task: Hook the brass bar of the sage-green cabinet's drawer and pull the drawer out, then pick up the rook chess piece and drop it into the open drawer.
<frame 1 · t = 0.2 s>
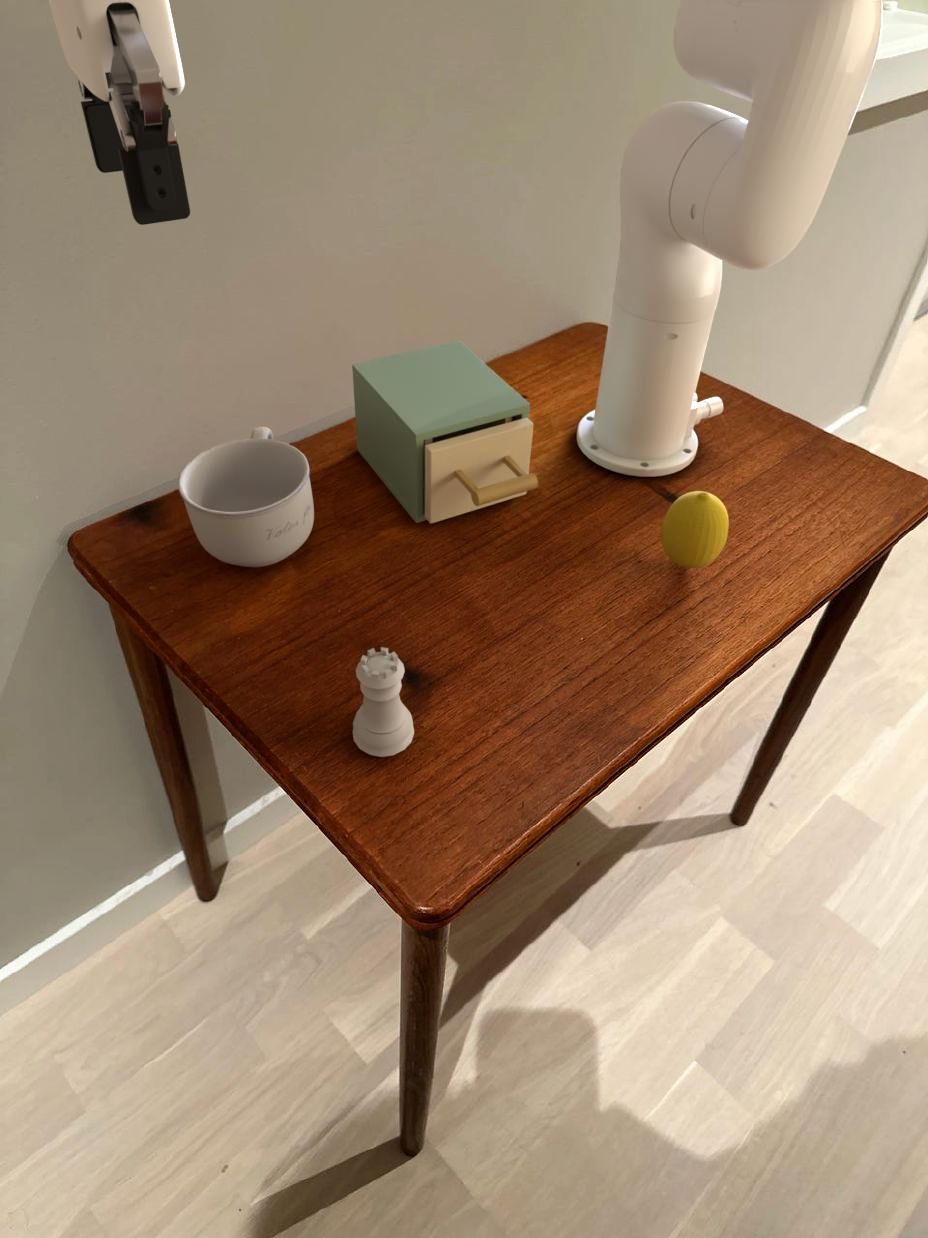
hand: (142, 192, 54), 31 cm above the table, tool pointing down, fingers open, 9 cm apart
rook chess piece: (383, 737, 63), on the table
cabinet: (437, 469, 87), on the table
teacup: (263, 535, 79), on the table
lemon: (684, 567, 78), on the table
drawer: (461, 452, 81), point 5 cm above the table, slide at 0.5 cm
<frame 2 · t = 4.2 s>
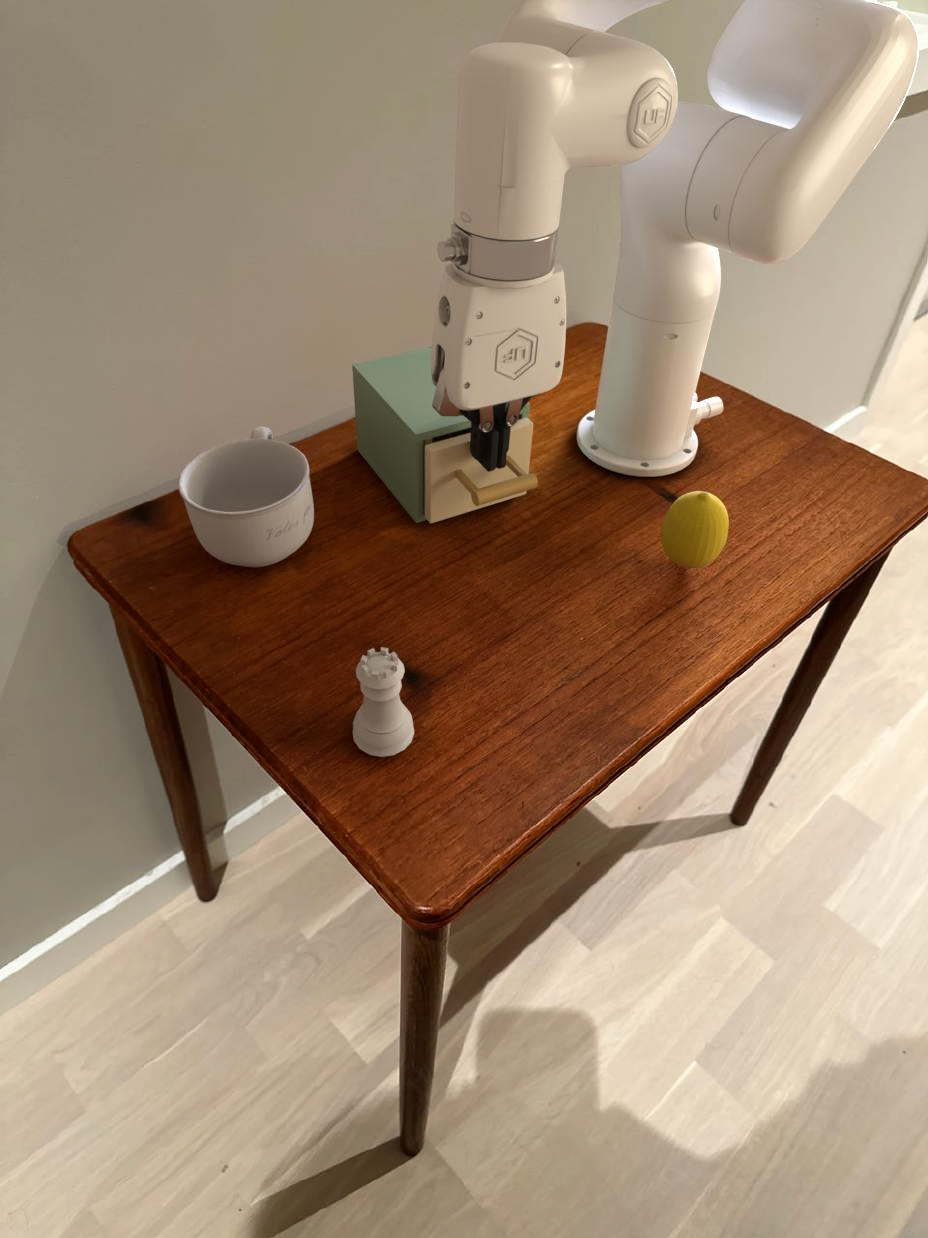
hand: (488, 461, 76), 7 cm above the table, tool pointing down, fingers closed
nothing on the table moved.
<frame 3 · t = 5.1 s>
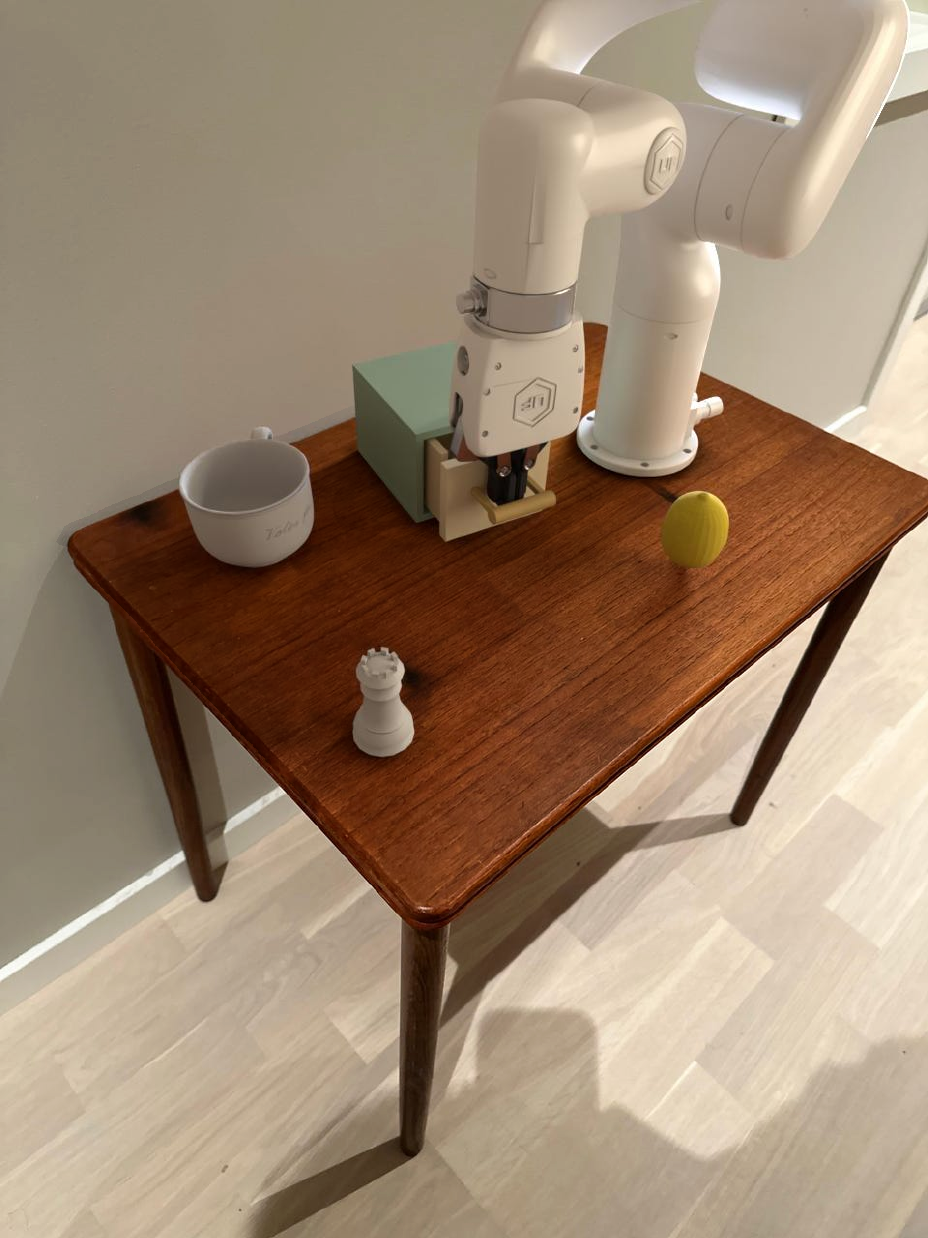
hand: (505, 502, 76), 5 cm above the table, tool pointing down, fingers closed
drawer: (476, 468, 79), point 5 cm above the table, slide at 3.4 cm, touching gripper
everything else where it was.
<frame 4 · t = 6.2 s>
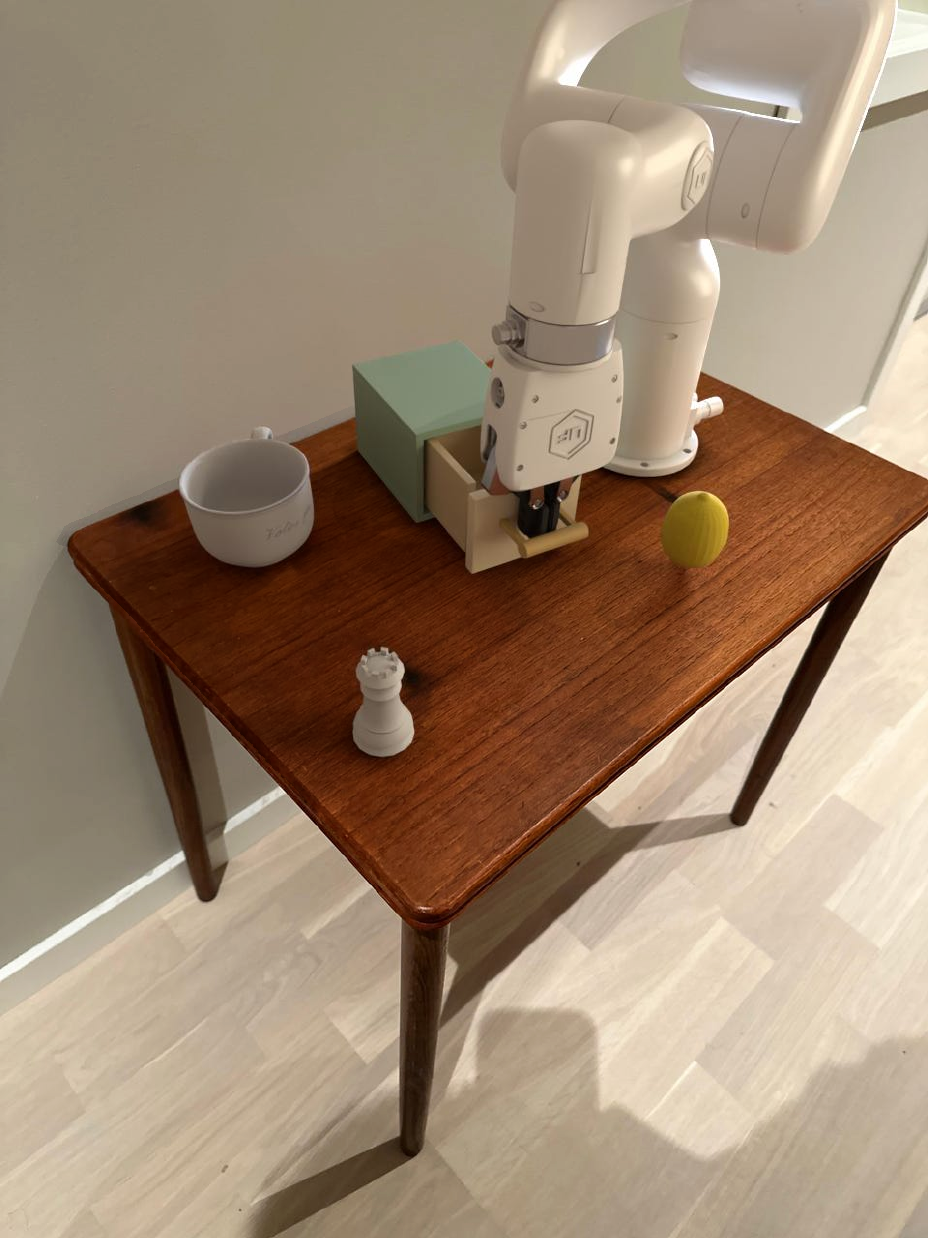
hand: (536, 534, 73), 5 cm above the table, tool pointing down, fingers closed
drawer: (503, 497, 76), point 5 cm above the table, slide at 8.3 cm, touching gripper
everything else where it was.
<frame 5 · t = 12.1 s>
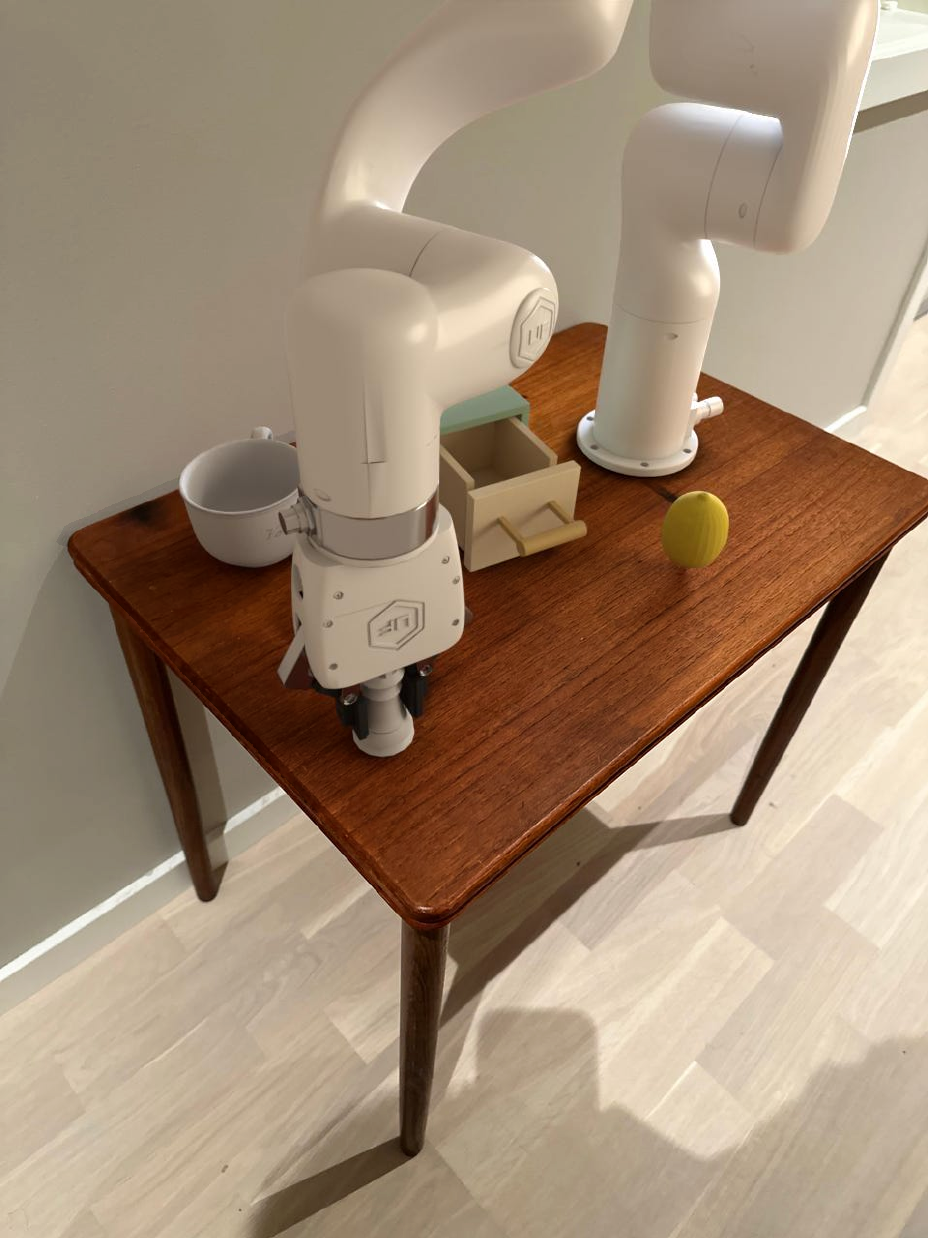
hand: (382, 712, 61), 3 cm above the table, tool pointing down, fingers closed on rook chess piece, 3 cm apart
rook chess piece: (383, 737, 63), on the table, touching gripper
drawer: (501, 495, 76), point 5 cm above the table, slide at 8.0 cm
everything else where it was.
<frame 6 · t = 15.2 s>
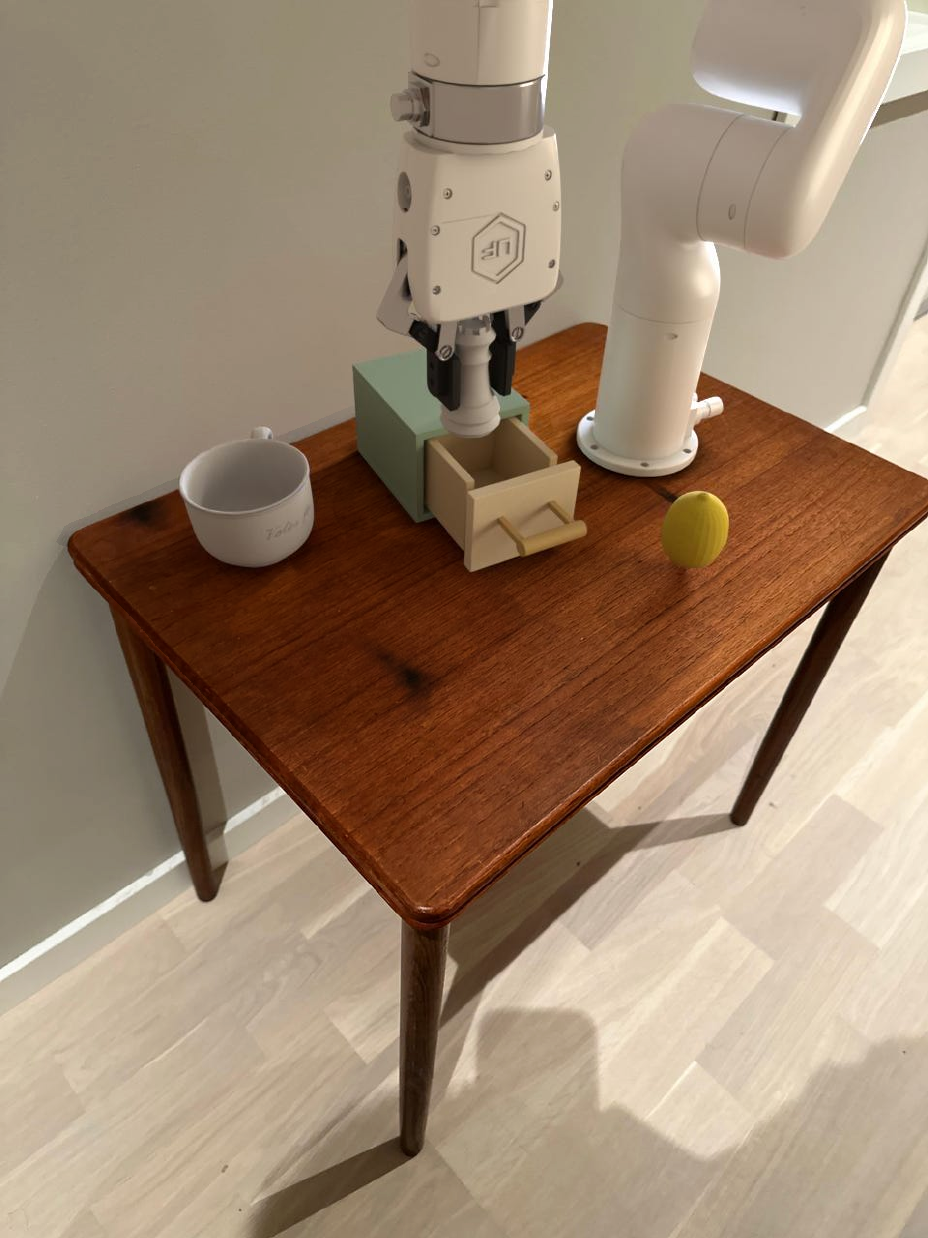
hand: (470, 391, 62), 19 cm above the table, tool pointing down, fingers closed on rook chess piece, 3 cm apart
rook chess piece: (469, 426, 64), point 16 cm above the table, touching gripper
everything else where it was.
when the fingers open (9 cm above the table, at t = 18.6 s): rook chess piece drops 4 cm, resting on drawer.
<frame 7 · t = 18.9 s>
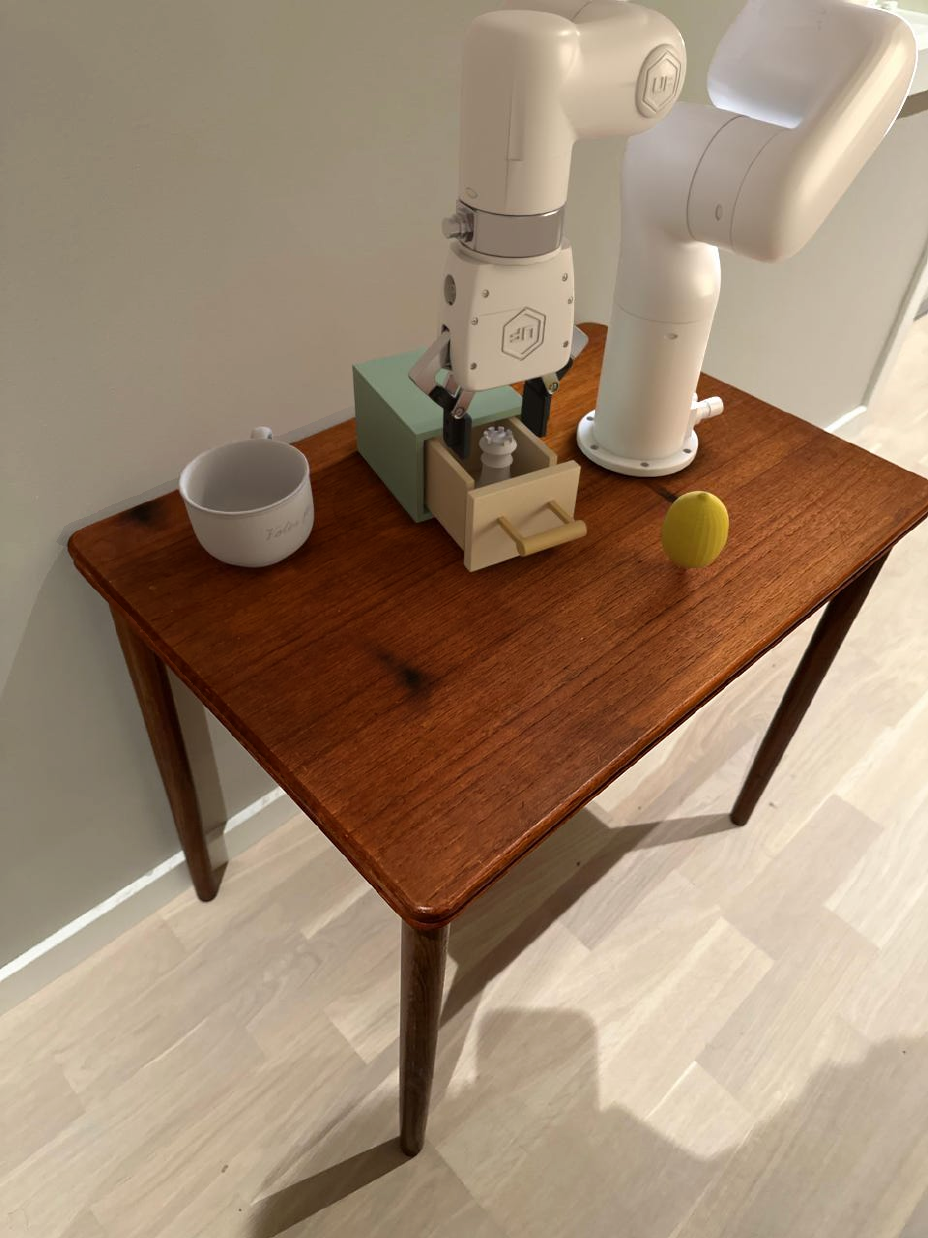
hand: (496, 438, 74), 10 cm above the table, tool pointing down, fingers open, 6 cm apart
rook chess piece: (493, 511, 80), point 2 cm above the table, touching drawer
drawer: (501, 495, 76), point 5 cm above the table, slide at 8.0 cm, touching rook chess piece
everything else where it was.
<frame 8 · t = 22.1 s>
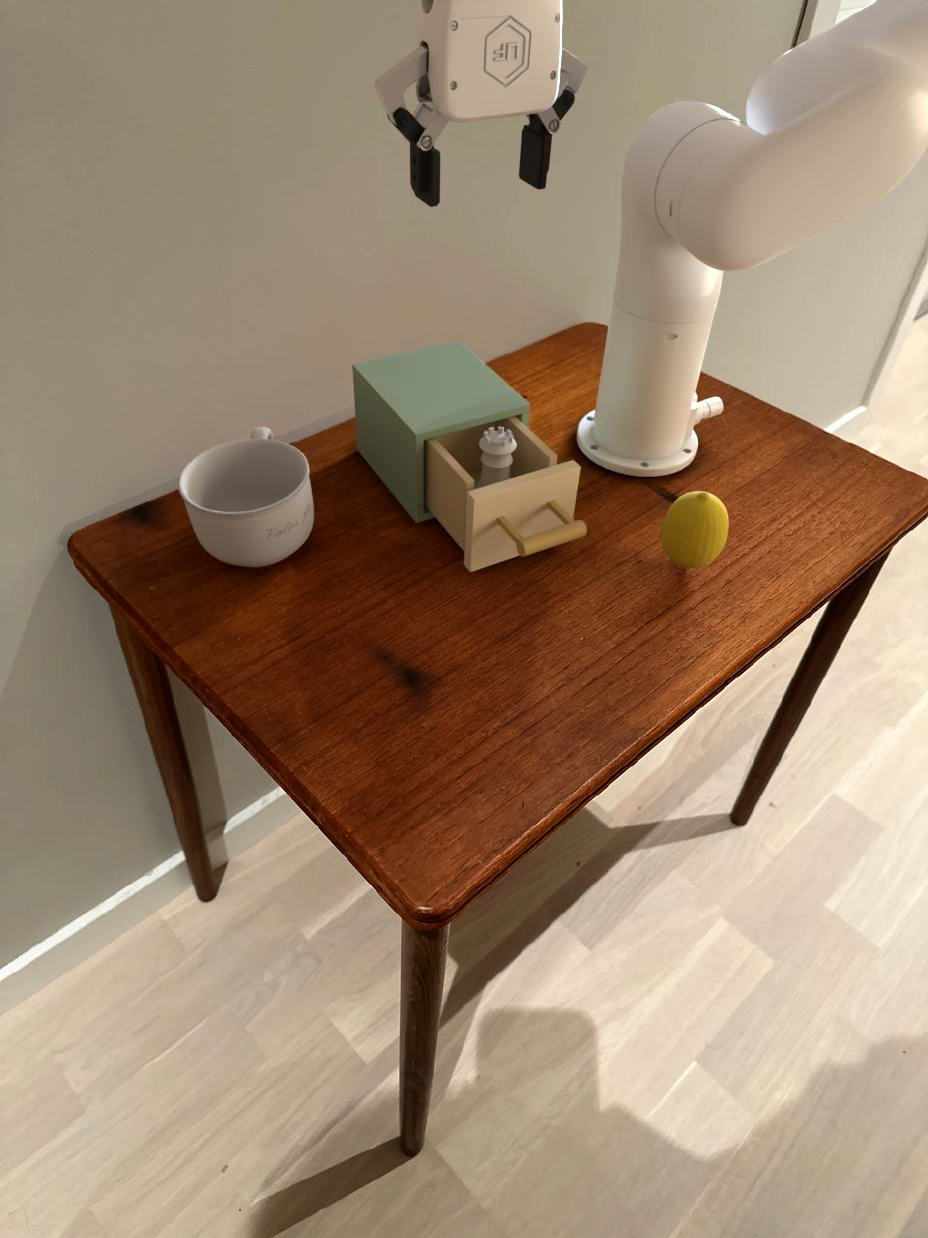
hand: (480, 192, 69), 26 cm above the table, tool pointing down, fingers open, 9 cm apart
nothing on the table moved.
at the end: drawer slide at 8.0 cm; rook chess piece inside the target area in the cabinet (5.9 cm from its centre), point 1.8 cm above the cabinet's base; the gripper is holding nothing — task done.
